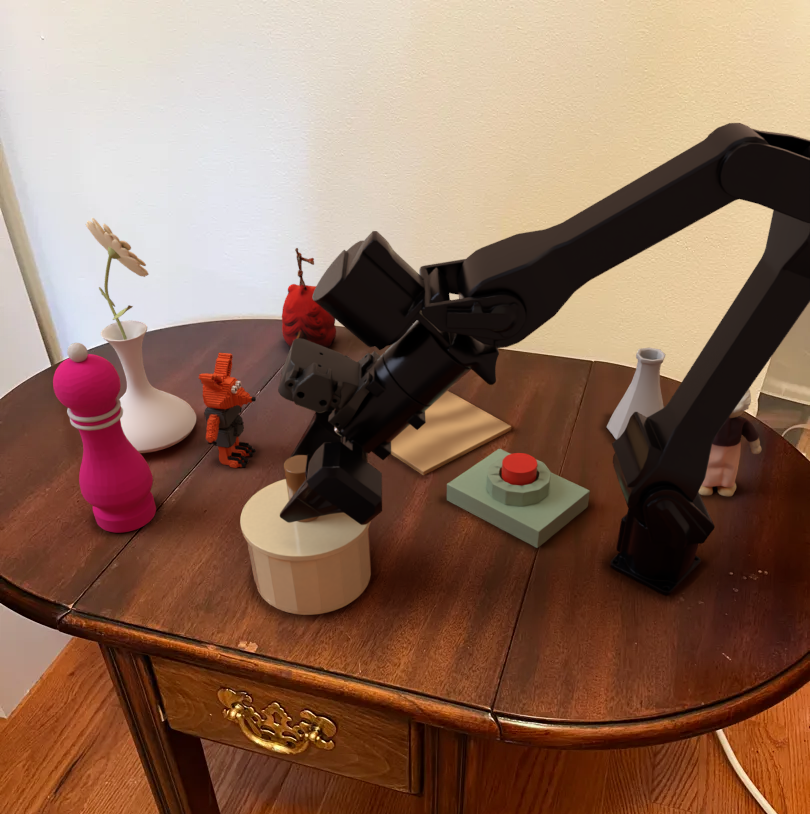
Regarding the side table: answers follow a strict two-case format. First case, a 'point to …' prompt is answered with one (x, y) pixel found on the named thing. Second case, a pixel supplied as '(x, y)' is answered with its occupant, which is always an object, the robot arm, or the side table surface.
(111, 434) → the pepper mill
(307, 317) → the red clay folk toy
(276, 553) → the jar lid
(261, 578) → the jar
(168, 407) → the flower in vase
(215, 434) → the toy animal
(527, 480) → the release button
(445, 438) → the wooden board
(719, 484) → the grandmother figurine
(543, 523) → the button base
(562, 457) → the side table surface
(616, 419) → the flask
